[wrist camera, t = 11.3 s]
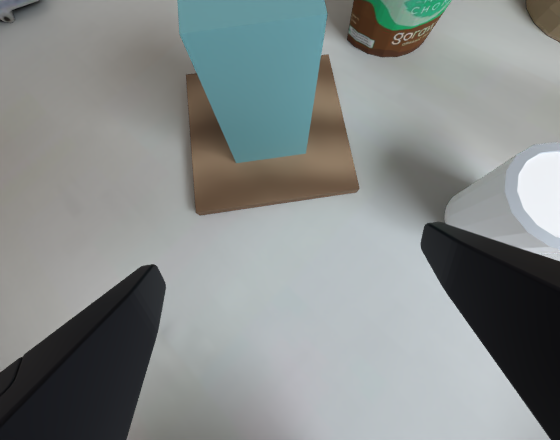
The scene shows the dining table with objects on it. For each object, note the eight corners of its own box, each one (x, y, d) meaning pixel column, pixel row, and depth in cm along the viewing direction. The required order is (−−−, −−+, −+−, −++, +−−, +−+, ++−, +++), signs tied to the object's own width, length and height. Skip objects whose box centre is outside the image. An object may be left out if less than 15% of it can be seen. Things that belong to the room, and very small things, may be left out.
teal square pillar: (305, 153, 22) (327, 13, 10) (236, 163, 22) (179, 33, 10) (295, 93, 23) (303, -89, 12) (229, 102, 23) (173, -72, 12)
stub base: (356, 192, 22) (373, 171, 18) (199, 215, 22) (178, 200, 18) (326, 62, 25) (335, 18, 21) (189, 82, 25) (169, 41, 21)
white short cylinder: (419, 216, 22) (481, 188, 15) (472, 168, 22) (553, 120, 16) (483, 278, 20) (583, 279, 13) (536, 224, 21) (655, 199, 14)
